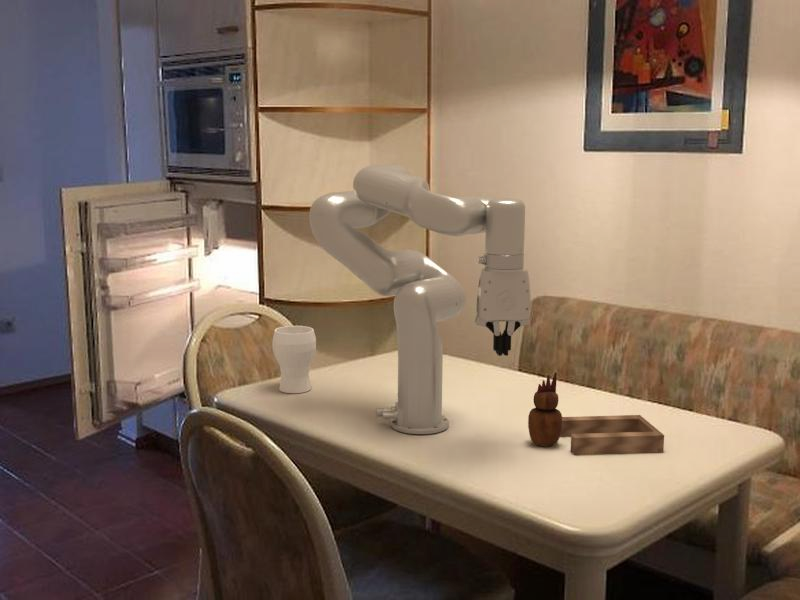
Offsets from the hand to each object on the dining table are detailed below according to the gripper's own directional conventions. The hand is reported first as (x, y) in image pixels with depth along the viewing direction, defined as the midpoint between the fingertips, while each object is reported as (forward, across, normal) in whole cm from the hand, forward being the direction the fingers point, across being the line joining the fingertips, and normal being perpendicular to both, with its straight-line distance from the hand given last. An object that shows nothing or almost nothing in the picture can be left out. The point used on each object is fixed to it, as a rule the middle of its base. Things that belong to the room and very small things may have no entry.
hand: (501, 353), depth 180 cm
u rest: (+19, +22, 0) cm, 29 cm away
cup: (+19, -42, +45) cm, 64 cm away
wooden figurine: (+19, +9, 0) cm, 21 cm away
